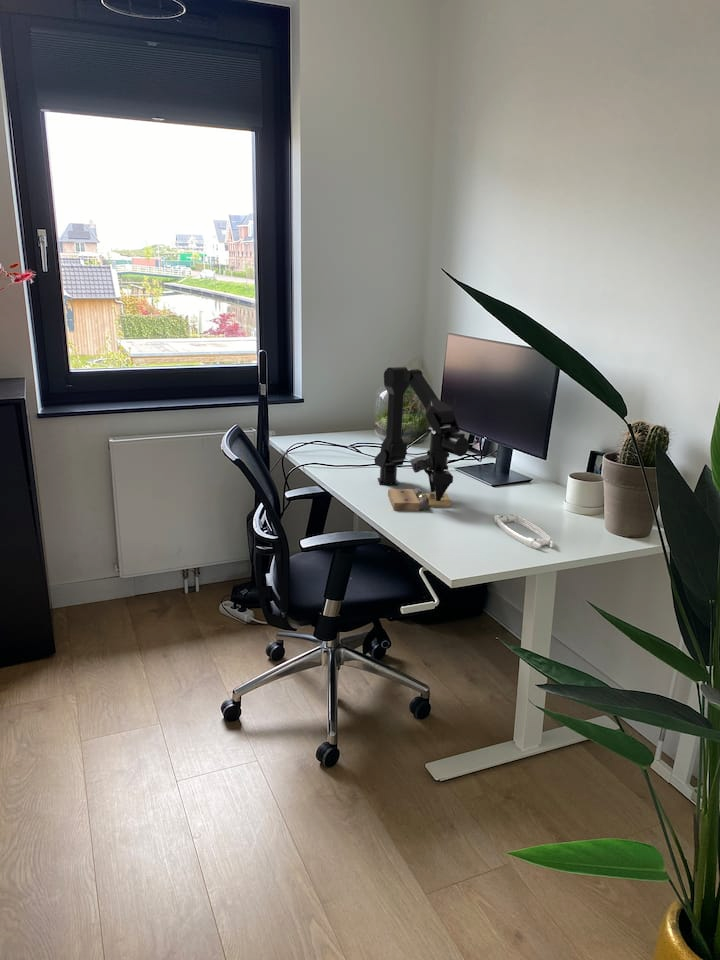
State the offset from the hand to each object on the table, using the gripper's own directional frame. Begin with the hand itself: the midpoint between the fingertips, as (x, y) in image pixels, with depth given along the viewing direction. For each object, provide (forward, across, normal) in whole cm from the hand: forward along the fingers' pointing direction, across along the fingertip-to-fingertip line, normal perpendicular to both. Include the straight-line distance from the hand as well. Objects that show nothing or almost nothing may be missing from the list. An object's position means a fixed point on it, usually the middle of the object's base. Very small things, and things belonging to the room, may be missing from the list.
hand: (435, 496), depth 228 cm
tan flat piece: (+2, 0, -9) cm, 9 cm away
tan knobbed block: (+2, 0, -1) cm, 2 cm away
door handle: (+3, +26, +20) cm, 33 cm away
